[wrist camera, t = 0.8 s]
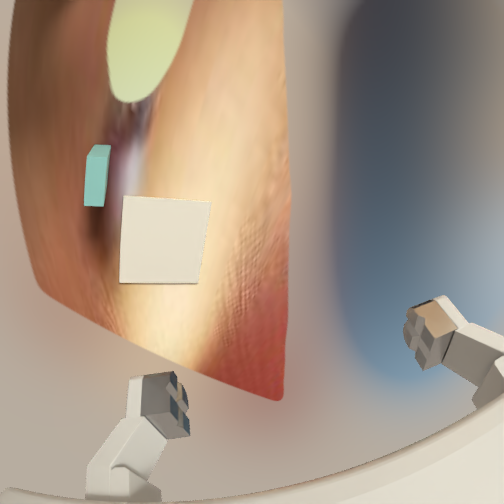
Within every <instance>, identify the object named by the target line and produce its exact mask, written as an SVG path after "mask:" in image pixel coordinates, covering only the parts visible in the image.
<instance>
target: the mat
mask: <svg viewBox="0 0 504 504" xmlns="http://www.w3.org/2000/svg"><path fill="white" fill-rule="evenodd" d="M211 203H212V202H211V201H199V200H186V199H172V198H156V197H139V196H124V199H123V211H122V225H121V243H120V273H119V283H198V281H199V274H200V268H201V262H202V256H203V250H204V244H205V238H206V232H207V226H208V220H209V215H210V209H211Z"/></svg>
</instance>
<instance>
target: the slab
mask: <svg viewBox="0 0 504 504" xmlns="http://www.w3.org/2000/svg"><path fill="white" fill-rule="evenodd" d="M110 150H111V145H94V146H93V148H92V149H91V151H90V153H89V154H88V156H87V163H86V176H85V192H84V206H103V207H104V200H105V194H106V188H107V179H108V169H109V159H110Z"/></svg>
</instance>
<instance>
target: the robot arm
mask: <svg viewBox="0 0 504 504" xmlns="http://www.w3.org/2000/svg"><path fill="white" fill-rule="evenodd" d="M406 316H407V318H408V320H407V322H406V323H405V324H404V328H403V334H404V339H405V342H406V344H407V345H408V347H409V348H410V349H412V350H414V351H416V353H415V359H416V360H417V362H418V363H419V365H420V367H421V368H422V370H423V371H424V370H426V369H429V368H431V367H433V366H436V365H438V364H440V363H442V364H443V365H444V366H446V367H447V368H449V369H451V370H452V371H454V372H455V373H457V374H459V375H460V376H462V377H463V378H465V379H466V380H468V381H470V382H471V383H473V384H475V385H476V386H478V387H479V388H478V389H477V391H476V392H475V394H474V395H473V398H472V401H473V403H474V405H475V406H476V408H477V410H476V411H474V412H472V413H471V414H469V415H467V416H466V417H464V418H462V419H460V420H458V421H457V422H455V423H453V424H451V425H449V426H448V427H446V428H444V429H442V430H440V431H438V432H436V433H434V434H432V435H430V436H428V437H426V438H424V439H422V440H419V441H418V442H415V443H413V444H411V445H409V446H406V447H404V448H402V449H400V450H397V451H395V452H393V453H390V454H388V455H385V456H383V457H380V458H378V459H375V460H372V461H370V462H367V463H364V464H362V465H358V466H356V467H353V468H350V469H347V470H344V471H341V472H337V473H335V474H331V475H328V476H324V477H321V478H317V479H314V480H310V481H307V482H303V483H298V484H294V485H290V486H286V487H281V488H277V489H272V490H267V491H262V492H256V493H251V494H244V495H238V496H232V497H224V498H215V499H206V500H195V501H181V502H162V500H161V490H160V489H159V488H157V487H156V486H154V485H152V484H151V483H149V482H147V480H148V478H149V476H150V474H151V472H152V470H153V468H154V466H155V464H156V462H157V461H158V459H159V456H160V454H161V453H162V451H163V449H164V447H165V445H166V443H167V439H174V438H181V437H188V436H190V425H189V419H188V417H187V416H186V415H185V413H186V412H187V410H188V409H189V407H188V399H187V394H186V391H185V389H184V387H183V385H182V384H181V383H179V382H177V376H176V374H175V373H174V371H172V372H164V373H157V374H149V375H141V376H134V377H131V378H130V380H129V385H128V394H127V405H126V417H125V418H122V419H121V420H120V421H119V423H118V424H117V426H116V427H115V428H114V430H113V431H112V433H111V434H110V435H109V437H108V438H107V439H106V441H105V442H104V444H103V445H102V446H101V448H100V449H99V451H98V452H97V453H96V455H95V456H94V457H93V459H92V460H91V462H90V463H89V465H88V466H87V478H86V494H85V500H83V499H75V498H66V497H60V496H53V495H47V494H42V493H36V492H31V491H26V490H22V489H18V488H11V487H10V488H6V489H5V490H4V491H3V492H2V493H1V494H0V504H504V336H502V335H499V334H497V333H495V332H492V331H490V330H488V329H486V328H483V327H481V326H479V325H476V324H474V323H470V324H469V323H468V322H467V321H466V320H465V318H464V317H463V316H462V315H461V313H460V312H459V311H458V310H457V309H456V307H455V306H454V305H453V304H452V303H451V302H450V300H449V299H448V298H447V297H446V296H444V295H442V296H439V297H437V298H434V299H432V300H428V301H426V302H423V303H421V304H418V305H415V306H413V307H410V308H409V309H408V310H407V314H406Z"/></svg>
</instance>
